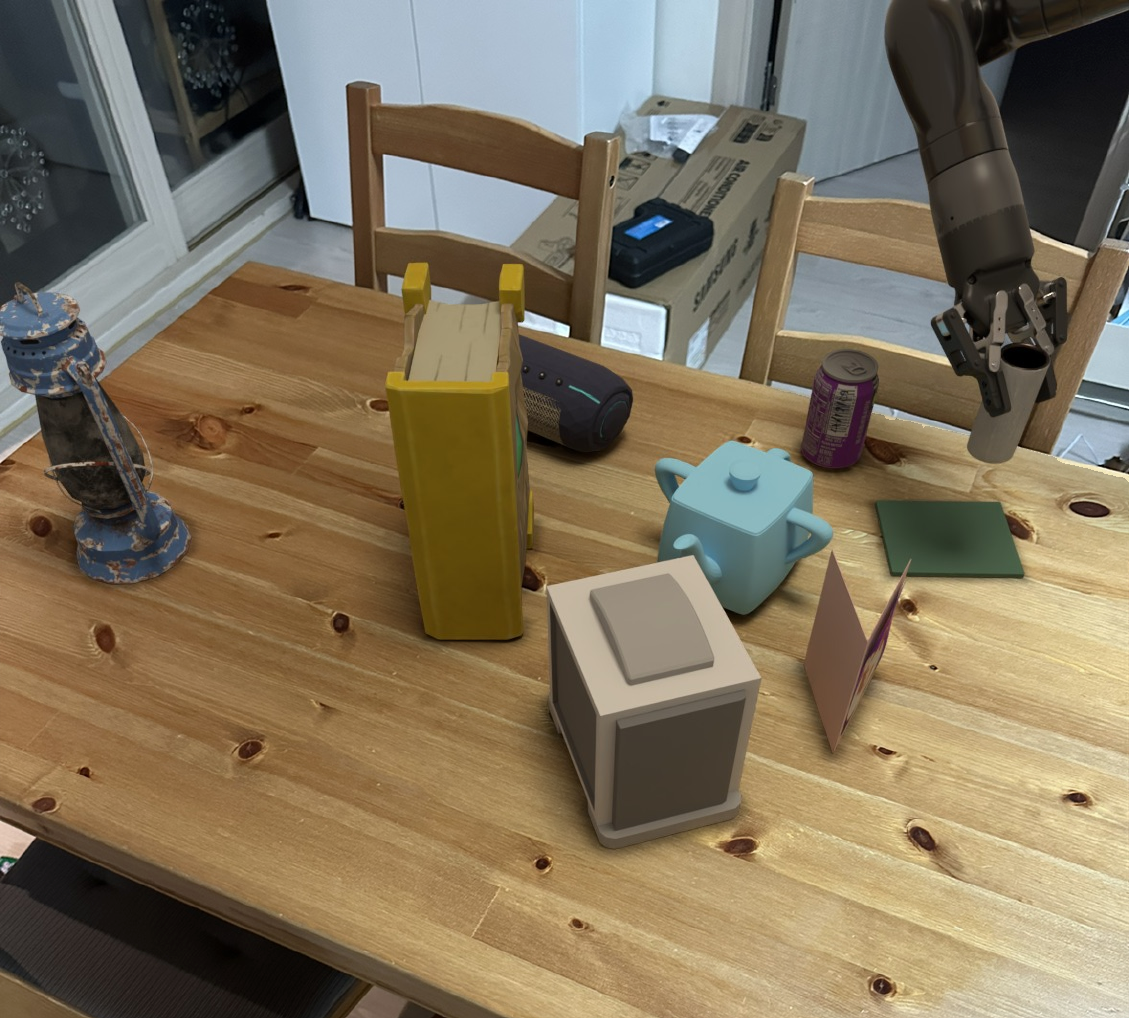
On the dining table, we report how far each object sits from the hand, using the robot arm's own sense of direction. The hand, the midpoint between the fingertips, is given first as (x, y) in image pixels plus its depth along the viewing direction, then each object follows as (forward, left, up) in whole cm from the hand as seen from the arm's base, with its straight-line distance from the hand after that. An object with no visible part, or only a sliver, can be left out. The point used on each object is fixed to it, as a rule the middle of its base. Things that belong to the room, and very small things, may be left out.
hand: (1023, 406), depth 98 cm
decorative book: (+52, +3, -20) cm, 56 cm away
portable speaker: (+48, -26, -20) cm, 58 cm away
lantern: (+91, -1, -20) cm, 93 cm away
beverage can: (+12, -19, -20) cm, 30 cm away
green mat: (+1, -4, -20) cm, 20 cm away
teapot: (+26, +3, -20) cm, 33 cm away
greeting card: (+17, +20, -20) cm, 33 cm away
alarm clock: (+35, +27, -20) cm, 48 cm away
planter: (+1, -2, -6) cm, 7 cm away
